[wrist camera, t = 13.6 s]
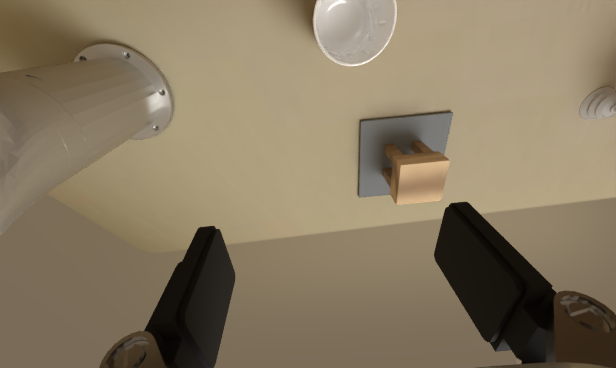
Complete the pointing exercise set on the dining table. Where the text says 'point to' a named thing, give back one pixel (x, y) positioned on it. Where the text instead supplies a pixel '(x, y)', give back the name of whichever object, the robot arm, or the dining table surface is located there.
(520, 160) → the dining table surface
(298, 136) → the dining table surface
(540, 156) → the dining table surface
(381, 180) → the mat
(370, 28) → the white cup
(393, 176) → the stool
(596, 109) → the chalice
